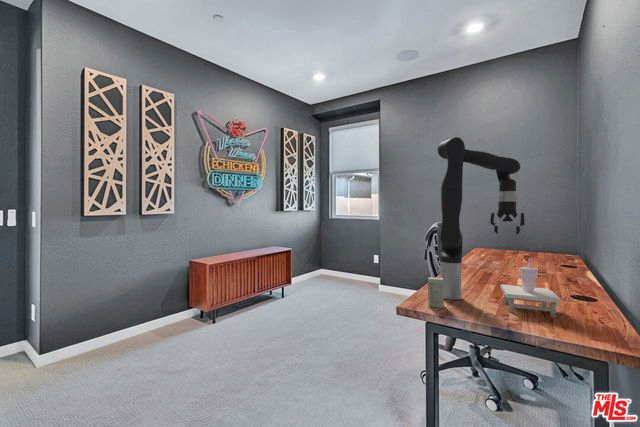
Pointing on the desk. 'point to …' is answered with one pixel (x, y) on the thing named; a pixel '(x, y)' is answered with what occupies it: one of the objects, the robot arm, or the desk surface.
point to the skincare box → (435, 292)
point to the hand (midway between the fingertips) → (506, 233)
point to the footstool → (530, 298)
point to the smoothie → (528, 277)
